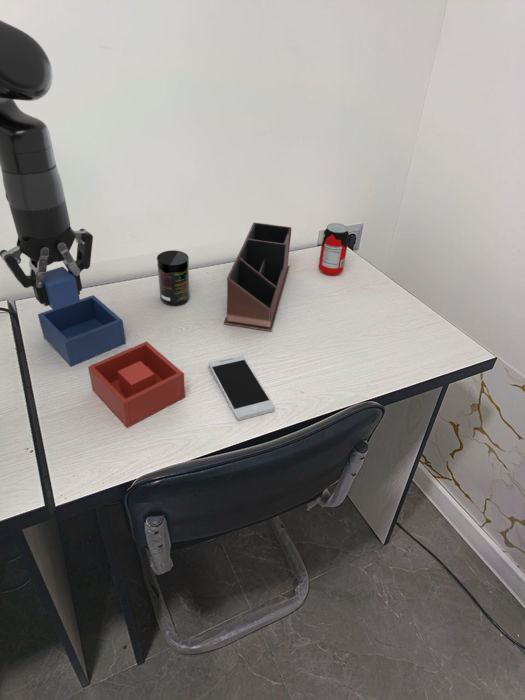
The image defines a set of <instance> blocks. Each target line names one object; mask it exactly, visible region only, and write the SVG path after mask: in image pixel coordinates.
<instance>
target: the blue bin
mask: <svg viewBox="0 0 525 700" xmlns="http://www.w3.org/2000/svg"><path fill="white" fill-rule="evenodd" d="M37 316H38V320H39V324H40V328H41V332H42V335H43V338H44V339H45V341H47V343H48V344H49V345H50V346H51V347H52V348H53V349H54V350H55V352H57V353H58V355H60V357H61V358H62V359H63V360H64V361H65V362H66V363H67V364H68V366H70V367H74V366H75V365H78V364H81V363H83V362H86V361H87V360H90V359H92V358H94V357H97V356H99V355H102V354H104V353H106V352H109V351H111V350H113V349H116V348H118V347H121V346H123V345H125V344H127V342H126V334H125V327H124V320H123V319H122V318H121V317H120V316H118V315H117V313H115V312H114V311H113V310H112V309H110V308H109V307H108V306H107V305H106V304H105V303H103V302H102V301H101V300H100V299H99V298H98V297H96V296H95V295H94V294H92V295H90V296H87V297H83V298H81V299H80V301H79V302H76V303H74V304H71V305H68V306H65V307H62V308H60V309H57V310H53V309H52V308H51V309H49V310H46V311H43V312H40V313H38V314H37Z"/></svg>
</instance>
